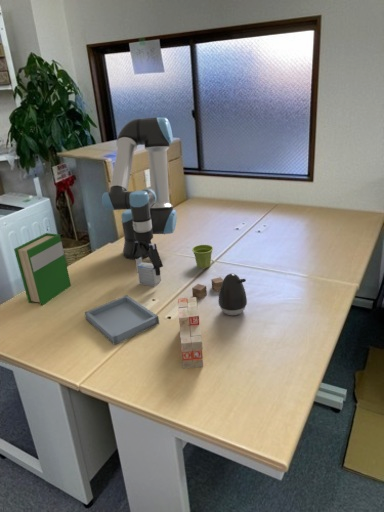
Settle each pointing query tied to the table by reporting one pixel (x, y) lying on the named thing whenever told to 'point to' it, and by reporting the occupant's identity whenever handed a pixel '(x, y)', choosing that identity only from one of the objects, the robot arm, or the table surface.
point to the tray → (121, 319)
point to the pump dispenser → (232, 295)
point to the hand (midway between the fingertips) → (148, 276)
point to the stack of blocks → (190, 333)
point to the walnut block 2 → (217, 283)
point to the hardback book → (43, 268)
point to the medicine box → (146, 274)
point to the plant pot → (203, 255)
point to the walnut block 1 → (199, 291)
